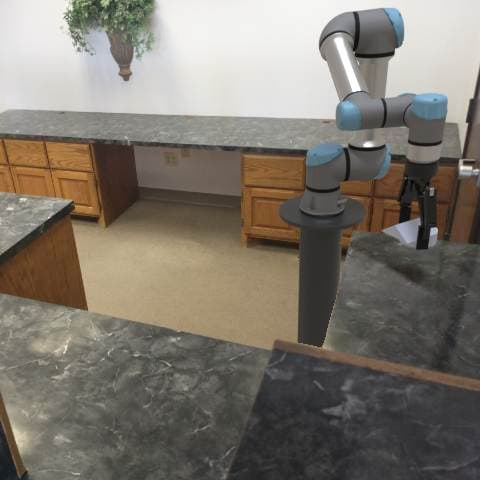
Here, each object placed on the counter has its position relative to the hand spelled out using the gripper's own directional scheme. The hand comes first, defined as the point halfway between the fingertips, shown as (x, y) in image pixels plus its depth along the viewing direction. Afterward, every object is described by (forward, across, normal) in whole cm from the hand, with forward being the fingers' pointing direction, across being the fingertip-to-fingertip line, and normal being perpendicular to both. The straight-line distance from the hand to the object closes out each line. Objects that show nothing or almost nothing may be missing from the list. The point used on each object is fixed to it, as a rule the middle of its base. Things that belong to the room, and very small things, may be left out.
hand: (412, 238), depth 135 cm
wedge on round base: (+1, 0, 0) cm, 1 cm away
